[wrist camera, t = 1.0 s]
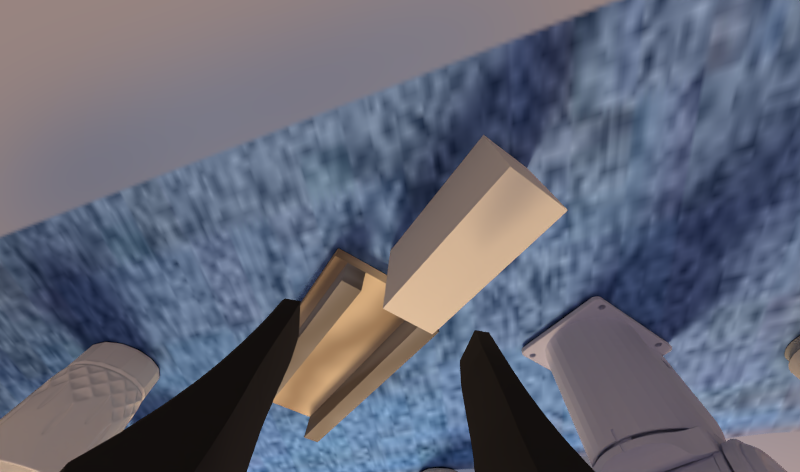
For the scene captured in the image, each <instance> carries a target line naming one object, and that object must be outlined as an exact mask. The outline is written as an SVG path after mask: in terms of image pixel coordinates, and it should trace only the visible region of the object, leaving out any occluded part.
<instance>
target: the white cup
mask: <svg viewBox="0 0 800 472" xmlns="http://www.w3.org/2000/svg"><path fill="white" fill-rule="evenodd" d="M158 379H159V368H158V367H157V365H156V364H155V363H154V361H153V360H152V359H151V358H149V357H148V356H147V355H145V354H144V353H142V352H141V351H139V350H137V349H134V348H132V347H129V346H127V345H124V344H120V343H112V342H103V343H98V344H94V345H92V346H91V347H90V348H89V349H87V350H86V351H85V352H84V353H83V354H81V355H80V356H79V357H78V358H77V359H76V360H74V361H73V362H72V363H71V364H70V365H69V366H68V367H66V368H65V369H63V370H61V371H60V372H58V373H57V374H55V375H54V376H53V377H52V378H50V379H49V380H48V381H47V382H46V383H44V384H43V385H42V386H41V387H39V388H38V389H37V390H35V391H34V392H33V393H32V394H30V395H29V396H28V397H27V398H25V399H24V400H23V401H22V402H21V403H19V404H18V405H17V406H16V407H15V408H13V409H12V410H11V411H10V412H9V413H7V414H6V415H5V416H4V417H3V418H1V419H0V472H60V471H61V470H62V468H63V467H64V466H65V465H66V464H67V463H68V462H70V461H71V460H73V459H75V458H77V457H78V456H80V455H82V454H84V453H85V452H87V451H89V450H91V449H92V448H94V447H96V446H98V445H99V444H101V443H103V442H104V441H106V440H108V439H110V438H111V437H113V436H115V435H117V434H118V433H120V432H122V431H123V430H124V428H125V427H126V426H127V424H128V423H129V421H130V420H131V419H132V417H133V416H134V414H135V413H136V411H137V410H138V408H139V406H140V404H141V402H142V401H143V400H144V398H145V397H146V396H147V394H148V393H149V391H150V390H151V389H152V387H153V386H154V385H155V383H156V382H157V381H158Z"/></svg>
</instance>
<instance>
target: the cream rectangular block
mask: <svg viewBox="0 0 800 472" xmlns="http://www.w3.org/2000/svg"><path fill="white" fill-rule="evenodd" d="M566 211H568V210H567V209H566V208H565V207H564V206H563V205H562V204H561V203H560V202H559V200H558V199H557V198H556V197H555V196H554V195H553V194H552V193H551V192H550V191H549V190H548V189H547V188H546V187H545V186H544V185H543V184H542V183H541V182H540V181H539V180H538V179H537V178H536V177H535V176H534V175H533V174H532V173H531V172H530V171H529V170H528V169H527V168H526V167H525V166H524V165H522V164H521V163H520V162H518V161H517V160H516V159H515V158H513V157H512V156H511V155H509V154H508V153H507V152H505V151H504V150H503V149H502V148H500V147H499V146H498V145H496V144H495V143H494V142H492V141H491V140H490V139H489V138H487V137H486V136H485V135H483V136H482V137H481V139H480V140H479V141H478V142H477V144H476V145H475V146H474V147H473V149H472V150H471V151H470V152H469V154H468V155H467V156H466V157H465V159H464V160H463V161H462V162H461V164H460V165H459V166H458V167H457V169H456V170H455V171H454V172H453V173H452V175H451V176H450V177H449V178H448V180H447V181H446V182H445V183H444V185H443V186H442V187H441V188H440V190H439V191H438V192H437V193H436V195H435V196H434V197H433V198H432V200H431V201H430V202H429V203H428V205H427V206H426V207H425V208H424V210H423V211H422V212H421V213H420V215H419V216H418V217H417V218H416V220H415V221H414V222H413V223H412V225H411V226H410V227H409V228H408V230H407V231H406V232H405V233H404V234H403V236H402V237H401V238H400V239H399V241H398V242H397V243H396V244H395V246H394V247H393V248H392V249H391V251H390V258H389V265H388V273H387V280H386V288H385V295H384V303H383V309H385V310H387V311H389V312H390V313H392V314H394V315H396V316H398V317H400V318H402V319H404V320H406V321H408V322H410V323H412V324H413V325H415V326H417V327H419V328H421V329H423V330H425V331H427V332H429V333H431V334H433V333H435V332H436V331H437V330H438V329H439V328H440V327H441V326H442V325H443V324H444V323H445V322H447V321H448V320H449V319H450V318H451V317H452V316H453V315H454V314H455V313H456V312H457V311H459V310H460V309H461V308H462V307H463V306H464V305H465V304H466V303H467V302H468V301H469V300H471V299H472V298H473V297H474V296H475V295H476V294H477V293H478V292H479V291H480V290H481V289H483V288H484V287H485V286H486V285H487V284H488V283H489V282H490V281H491V280H492V279H493V278H495V277H496V276H497V275H498V274H499V273H500V272H501V271H502V270H503V269H504V268H505V267H507V266H508V265H509V264H510V263H511V262H512V261H513V260H514V259H515V258H516V257H517V256H519V255H520V254H521V253H522V252H523V251H524V250H525V249H526V248H527V247H528V246H529V245H531V244H532V243H533V242H534V241H535V240H536V239H537V238H538V237H539V236H540V235H541V234H543V233H544V232H545V231H546V230H547V229H548V228H549V227H550V226H551V225H552V224H553V223H554V222H556V221H557V220H558V219H559V218H560V217H561V216H562V215H563V214H564V213H565V212H566Z"/></svg>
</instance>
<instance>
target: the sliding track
mask: <svg viewBox="0 0 800 472" xmlns="http://www.w3.org/2000/svg"><path fill="white" fill-rule="evenodd" d="M386 280H387V275H386V274H384V273H382V272H380V271H379V270H377V269H375V268H373V267H371V266H370V265H368V264H366V263H364V262H362V261H361V260H359V259H357V258H355V257H353V256H352V255H350V254H348V253H346V252H344V251H343V250H341V249H339V248H338V249H337V251H336V252H335V254H334V255H333V256H332V258H331V259H330V261H329V262H328V264H327V265H326V267H325V268H324V270H323V271H322V272H321V274H320V275H319V277H318V278H317V280H316V281H315V283H314V284H313V286H312V287H311V288H310V290H309V291H308V293H307V294H306V296H305V297H304V299H303V300H302V302H301V303H300V325H299V337H298V341H297V344H296V347H295V350H294V353H293V356H292V359H291V362H290V364H289V366H288V369H287V371H286V373H285V375H284V378H283V380H282V382H281V385H280V387H279V389H278V391H277V394H276V396H275V398H274V400H273V403H276V404H278V405H281V406H283V407H286V408H289V409H291V410H294V411H296V412H299V413H302V414H304V415H307V416H309V417H310V419H309V422H308V426H307V429H306V432H305V436H304V437H305V438H308V439H310V440H313V441H316V442H318V441H319V440H320V439H322V438H323V437H324V436H325V435H326V434H327V433H328V432H329V431H330V430H331V429H333V428H334V427H335V426H336V425H337V424H338V423H339V422H340V421H341V420H342V419H344V418H345V417H346V416H347V415H348V414H349V413H350V412H351V411H352V410H353V409H355V408H356V407H357V406H358V405H359V404H360V403H361V402H362V401H363V400H364V399H366V398H367V397H368V396H369V395H370V394H371V393H372V392H373V391H374V390H375V389H377V388H378V387H379V386H380V385H381V384H382V383H383V382H384V381H385V380H386V379H388V378H389V377H390V376H391V375H392V374H393V373H394V372H395V371H396V370H397V369H399V368H400V367H401V366H402V365H403V364H404V363H405V362H406V361H407V360H408V359H410V358H411V357H412V356H413V355H414V354H415V353H416V352H417V351H418V350H419V349H421V348H422V347H423V346H424V345H425V344H426V343H427V342H428V341H429V340H430V339H432V338H433V337H434V336H435V335H436V334H437V333H438V332H439V329H438V330H437V331H436V332H435V333H433V334H431V333H429V332H427V331H425V330H423V329H421V328H419V327H417V326H415V325H413V324H412V323H410V322H408V321H406V320H404V319H402V318H400V317H398V316H396V315H394V314H392V313H390V312H389V311H387V310H385V309H383V303H384V295H385V288H386Z"/></svg>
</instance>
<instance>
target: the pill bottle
mask: <svg viewBox="0 0 800 472" xmlns="http://www.w3.org/2000/svg"><path fill="white" fill-rule="evenodd" d="M423 472H457V471H455V470H452V469H448V468H430V469H426V470H424V471H423Z"/></svg>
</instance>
